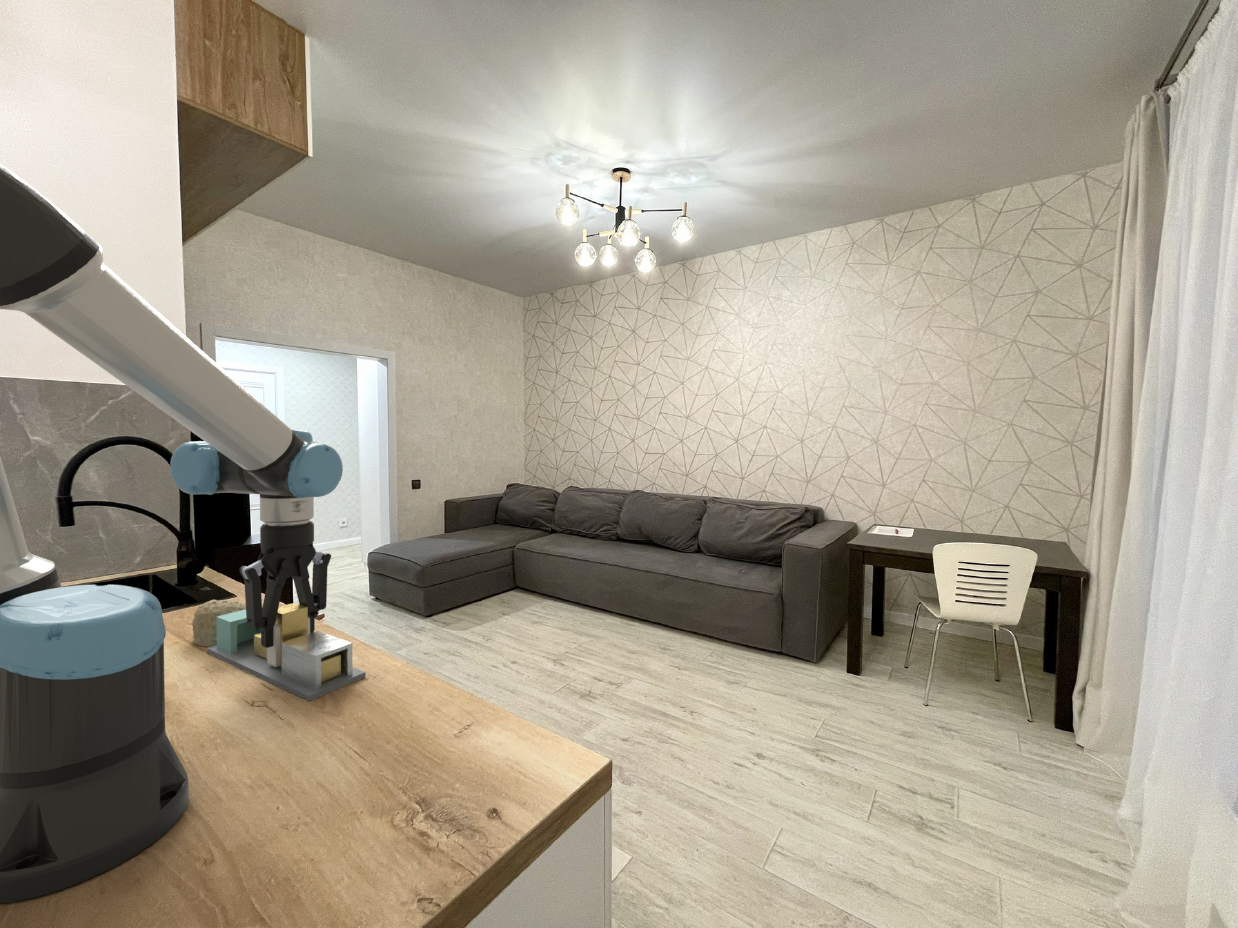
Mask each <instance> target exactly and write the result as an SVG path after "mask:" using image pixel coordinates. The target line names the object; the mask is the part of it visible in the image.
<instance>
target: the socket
mask: <svg viewBox="0 0 1238 928" xmlns="http://www.w3.org/2000/svg"><path fill="white" fill-rule="evenodd" d="M216 620H217V648H220V649H222V650H224V651H226V652H228V653H230V654H231V653H234V652H237V643H240V642H243V641H247V640H250V639H253V638H254V635H257V634H260V633H261V628H255V627H253V626H250V625H248V624H247V619H246V609H245V610H241V611H237V612H233V613H229V614H225V615H221V616H217V617H216Z"/></svg>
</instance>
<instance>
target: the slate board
mask: <svg viewBox="0 0 1238 928" xmlns="http://www.w3.org/2000/svg"><path fill="white" fill-rule="evenodd" d="M206 653H207V654H209V655H211V656H213V657H215V658H217V659H220V660H222V661H224V662H226V663H228V664H230V665H232V666H233V667H236V668H238V669H241V670H242V671H245V672H247V673H249V674H251V675H253V676H255V677H257V678H259V679H261V680H264V681H266V682H268V683H269V684H272V685H274V686H276V687H278V688H280V689H282V690H285V691H286V692H288V693H291V694H293V695H295V696H297V697H299V698H301V699H303V700H306V701H308V702H310V701H314V700H315V699H317V698H320V697H322V696H325V695H327V694H330V693H331V692H334V691H336V690H338V689H340V688H342V687H343V688H344V687H345V686H348V685H350V684H352V683H354V682H355V683H356V681H360V680H361V679H364V678H366V675H367V674H366V673H367V672H366V671H363V670H361V669H358V668H357V667H354V666H352V675H350V676H345V675H343V674H341V675H338V676H336V677H333V678H331V679H328V680H326V681H323V682H321V688H319V689H313V688H311V687H309V686H307V685H305V684H302V683H300V682H298V681H296V680H294V679H291V678H289V677H287V676H285V675H283V674H282V667H279V666H277V667H274V666H272V665H270V664H268V663H267V659H266V658H263V657H261V656H259V655H257V654H254V638H253V639H250V640H247V641H243V642H240V643H237V652H234V653H231V654H230V653H228V652H226V651H224V650H222V649H220V648H217V645H216V646H208V647H207V648H206Z"/></svg>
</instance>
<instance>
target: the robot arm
mask: <svg viewBox="0 0 1238 928" xmlns="http://www.w3.org/2000/svg"><path fill="white" fill-rule="evenodd" d="M103 252H104V251H103V247H102V246H101V245H100V244H99V243H98V242H97V241H96V240H95V239H94V238H93V237H92V236H90V234H88V233H87V232H86V231H85V230H84V229H83V228H81V226H79V225H78V223H76V222H75V221H74V220H73V219H72V218H70V216H68V215H67V214H66V213H65V212H64V211H62V210H61V209H60V208H59V207H58V206H56V205H55V204H54V203H53V202H52V201H50V200H49V199H48V198H47V197H45V195H43V194H42V193H40V191H38V190H37V189H35V188H34V187H32V186H31V184H29V183H27V182H26V181H25V180H23V178H21V177H20V176H18V175H17V174H15V172H12V171H11V170H10V169H8V168H7V167H5V166H3V165H2V164H1V163H0V310H6V311H18V312H21V313H24V314H25V315H27V316H28V317H30V318H31V319H33V320H34V321H36V322H37V323H38V324H40V326H42V327H43V328H45V329H47V331H49V332H50V333H52V334H54V336H56V337H58V338H59V339H61V340H62V341H63V342H65V343H66V344H67V345H68V346H71V347H72V348H74V349H75V350H76V351H77V352H78V353H80V354H82V355H83V356H85V357H86V358H87V359H89V360H90V361H91V362H93V363H94V364H95V365H97V366H99V367H100V368H101V369H103V370H104V371H105V372H107V373H109V375H111V376H112V377H114V378H115V379H117V380H118V381H119V382H121V383H122V384H124V385H125V386H126V387H128V388H130V389H131V390H132V391H134V392H135V393H137V394H138V395H139V396H141V397H142V398H144V399H145V400H146V401H148V402H149V403H151V404H152V405H153V406H155V407H157V409H159V410H160V411H161V412H163V413H164V414H166V415H167V416H169V417H170V418H172V419H173V420H174V421H176V422H178V423H179V424H180V425H181V426H183V427H184V428H186V429H188V431H190V432H191V433H193V434H194V435H195V436H197V437H198V438H200V439H201V440H198V441H195V440H194V441H187V442H183V443H182V444H180V445H179V446H178V447H177V448H176V449H175V450H174V452H173V453H172V456H171V458H170V462H169V463H170V476H171V478H172V481H173V483H174V485H175V486H176V487H177V488H178V489H179V490H180V491H182V492H183V493H186V494H188V495H209V496H211V495H214V494H220V493H221V494H222V493H223V494H224V493H229V494H230V493H233V494H248V495H259V520H260V521H261V522H263V523H262V524H261V525H260V527H259V533H260V536H259V538H260V539H259V540H260V544H259V545H260V549H261V550H260V551H261V552H260V555H259V556H258V557H257V561H255V562H253V563H252V564H249V565H248V566H246V565H242V566H241V567H239V573H240V575H241V577H242V579H243V581H244V595H245V596H244V598H245V599H244V600H245V604H246V619H247V624H248V625H250V626H253V627H255V628H261V644H262V646H263V647H266V648H267V663H268V664H270V665H272V666H274V667H277V666H280V665H281V649H280V626H278V625H275V622H276V617H277V612H278V607H280V602H281V596H282V593H283V587H284V586H285V584H286V580H287V579H289V578H291V579H292V580H293V583H294V588H295V591H296V595H297V599H298V604H299V605H302V606H306V607H308V634H310V633H313V632H315V630H316V627H315V624H316V623H315V621H316V620H315V619H316V617H318V615H319V614H320V613H319V611H321V610H325V609H326V608H327V601H328V600H327V598H328V567H329V564H330V561H331V558H332V554H331V553H329V552H323V551H316V549H315V547H314V541H315V523H314V522H313V521H311V520H312V519H313V518H314V516H315V515H314V514H315V513H314V509H315V508H314V507H315V506H314V505H315V503H314V498H317V497H318V498H320V497H321V498H322V497H325V496H327V495H329V494H331V493H332V492H333V491H334V490H336V488H337V487H338V486H339V485H340V484H339V483H340V481H341V480H342V476H343V467H344V465H343V462H342V458H341V456H340V454H339V453H338V452H337V450H335V448H333V446H330V445H329V444H328V445H327V444H323V443H319V442H315V441H314V439H313V435H312V433H311V432H310V431H308V430H305V429H292V428H290V427H289V426H288V425H287V424H285V422H284V421H282V420H281V419H280V418H279V417H278V416H276V415H275V414H274V413H273V412H272V411H271V410H269V409H268V407H266V406H265V405H264V404H263V403H262V402H261V401H259V400H258V399H257V398H256V397H255V396H254V395H252V393H250V391H248V390H247V389H246V387H244V386H243V385H241V384H240V383H239V382H238V381H237V380H235V379H234V378H233V377H232V376H231V375H230V374H229V373H227V371H226V370H224V369H223V368H222V367H221V366H220V365H219V364H218V363H216V362H215V360H213V359H212V358H211V357H210V356H209V355H207V354H206V353H205V351H203V350H202V349H201V348H199V347H198V346H197V345H196V344H195V343H194V342H192V341H191V339H189V338H188V337H187V336H186V334H184V333H182V332H181V330H179V329H178V328H177V327H176V326H175V325H173V324H172V323H171V322H170V321H169V320H168V319H167V318H166V317H164V316H163V314H161V313H160V312H159V311H158V310H157V309H155V308H154V307H153V306H152V305H151V304H149V303H148V302H147V301H146V299H144V298H143V297H142V296H141V295H139V294H138V293H137V292H136V291H135V290H134V289H133V288H132V287H131V286H129V285H128V284H127V283H126V282H125V281H123V280H122V279H121V278H120V277H119V276H118V275H117V274H116V273H115V272H114V271H112V269H110V267H108V266H107V265H106V264H105V263H104V256H103V255H104V254H103ZM202 440H203V441H202ZM19 518H20V517H19V515H18V511H17V508H16V505H15V502H14V497H13V495H12V491H11V487H10V485H9V481H8V477H7V474H6V470H5V467H4V464H3V461H2V458H1V456H0V904H2V903H4V904H5V903H12V902H19V901H23V900H29V899H33V898H37V897H41V896H44V895H48V894H51V893H55V892H57V891H61V890H64V889H67V888H69V887H72V886H75V885H77V884H80V883H82V882H85V881H87V880H90V879H92V878H94V877H96V876H99V875H100V874H102V873H105V872H107V871H109V870H112V869H114V868H115V867H117V866H119V865H120V864H122V863H124V862H126V861H127V860H129V859H131V858H132V857H134V856H136V855H137V854H139V853H141V852H142V851H144V850H145V849H146V848H148V847H149V846H151V845H152V844H154V843H155V842H156V841H158V839H161V837H162V836H163V835H164V834H166V833H167V832H168V831H169V830H170V829H172V827H173V826H174V825H175V824H176V823H177V822H178V821H179V819H181V816H182V815H184V813H185V811H186V808H187V807H188V805H189V799H190V795H189V793H190V792H189V788H190V787H189V776H188V773H187V771H186V769H185V767H184V765H183V764H182V762H181V760H180V758H179V756H178V754H177V752H176V750H175V749H174V747H173V745H172V742H171V741H170V739H169V736H168V734H167V732H166V709H165V708H166V705H165V703H166V701H165V700H166V699H165V698H166V694H165V689H166V688H165V687H166V686H165V643H164V642H165V638H166V635H167V633H166V631H167V630H166V625H165V621H164V618H163V617H164V616H163V611H162V606H161V603H160V601H159V599H158V597H156V596H155V595H154V594H152V593H151V592H149V591H147V590H144V589H142V588H139V587H133V586H131V585H130V586H128V585H124V584H107V585H106V584H105V585H97V584H80V585H79V584H77V585H71V586H70V585H69V586H62V583H61V581H60V580H61V579H60V576H59V573H58V571H57V567H56V564H55V562H54V561H52V560H51V559H47V558H44V557H42V556H38V555H36V554H33V553H31V552H30V551H29V548H28V545H27V542H26V538H25V535H24V531H23V529H22V525H21V522H20V519H19ZM311 562H312V563H313V564H312V582H311V583H312V584H310V572H309V569H308V567H309V566H310V565H311ZM262 569H264V571H265V572H266V573H267V576H266V580H265V581H266V589H265V592H264V598H263V599H262V597H263V596H262V583H261V578H260V576H262ZM262 600H263V601H262Z"/></svg>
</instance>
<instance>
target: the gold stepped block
mask: <svg viewBox="0 0 1238 928" xmlns="http://www.w3.org/2000/svg"><path fill="white" fill-rule="evenodd" d="M275 625H278V626H280V649H281V665H280V666H279V667H282V642H285V641H288V640H291V639H294V638H297V637H301V636H304V635H307V634H308V607H306V606H302V605H300V604H299V603H295V602H293V603H288V604H285V605H281V606H279V607H278V612H277V617H276V622H275ZM254 654H257V655H259V656H261V657H263V658H266V659H267V648H266V647H263V646H262V644H261V633H260V634H257V635H254ZM338 675H341V655H340V654H337V653H333V654H331V655H328V656H325V657H323V658H321V682H323V681H326V680H328V679H331V678H333V677H336V676H338Z"/></svg>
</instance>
